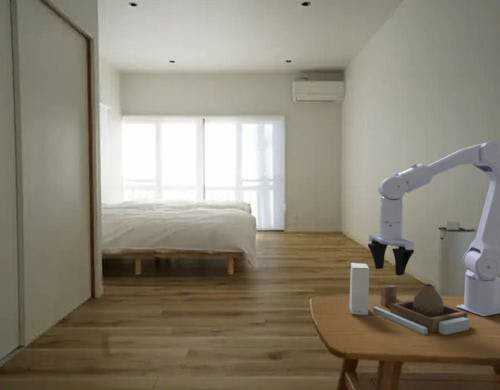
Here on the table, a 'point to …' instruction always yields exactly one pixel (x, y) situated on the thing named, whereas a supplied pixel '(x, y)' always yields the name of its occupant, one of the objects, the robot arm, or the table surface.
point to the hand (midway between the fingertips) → (389, 271)
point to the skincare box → (359, 289)
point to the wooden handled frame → (407, 312)
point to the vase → (428, 301)
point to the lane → (444, 327)
